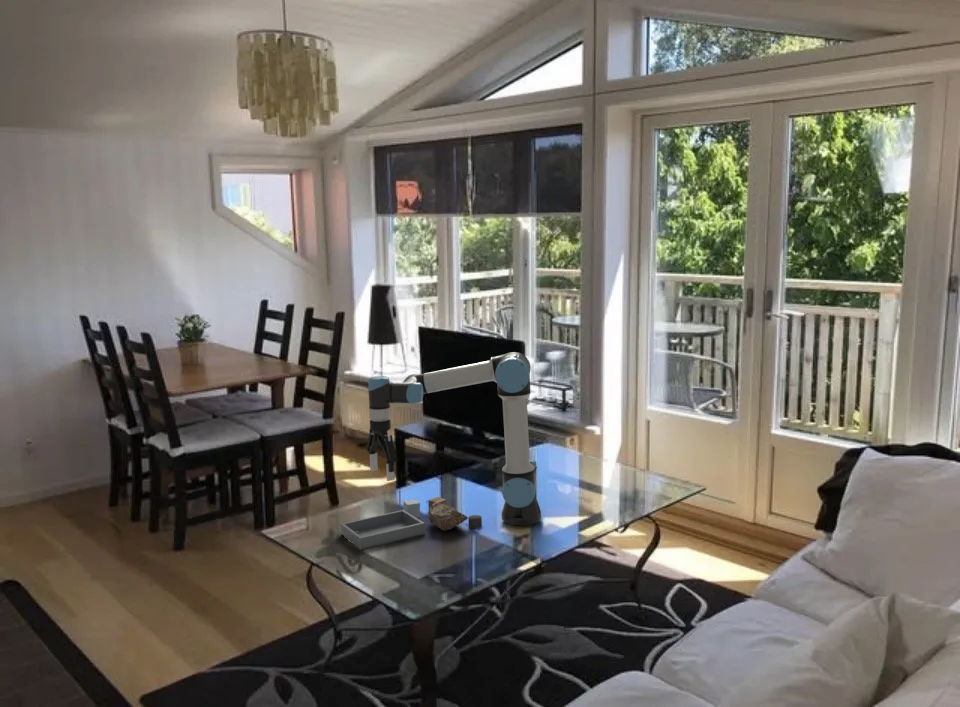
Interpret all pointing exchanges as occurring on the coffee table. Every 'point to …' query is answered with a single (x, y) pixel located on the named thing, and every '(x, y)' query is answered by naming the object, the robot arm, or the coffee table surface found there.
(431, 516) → the rock
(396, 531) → the grey tray
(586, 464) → the coffee table surface
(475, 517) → the dark grey cylinder
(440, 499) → the walnut cube
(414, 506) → the bluegrey block
